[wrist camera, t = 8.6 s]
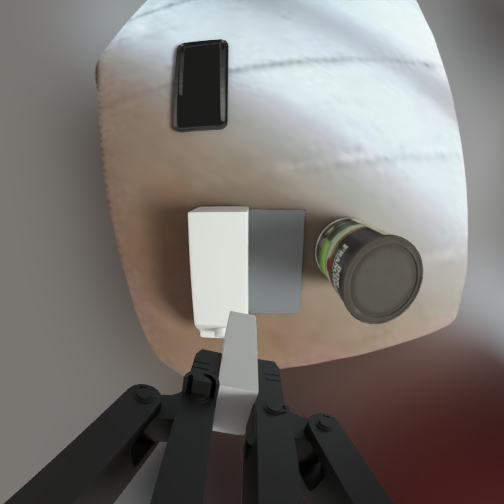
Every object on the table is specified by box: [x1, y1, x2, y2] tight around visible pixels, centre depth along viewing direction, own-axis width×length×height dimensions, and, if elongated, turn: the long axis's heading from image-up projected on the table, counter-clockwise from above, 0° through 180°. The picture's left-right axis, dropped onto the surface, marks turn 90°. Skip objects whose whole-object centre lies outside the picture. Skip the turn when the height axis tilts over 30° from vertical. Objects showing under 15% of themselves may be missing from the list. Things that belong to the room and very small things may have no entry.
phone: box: [174, 39, 228, 132], centre depth 35 cm, size 8×1×15 cm
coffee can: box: [315, 217, 423, 324], centre depth 35 cm, size 10×10×14 cm
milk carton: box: [188, 206, 249, 338], centre depth 39 cm, size 7×7×19 cm
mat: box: [248, 209, 305, 313], centre depth 42 cm, size 16×16×1 cm
